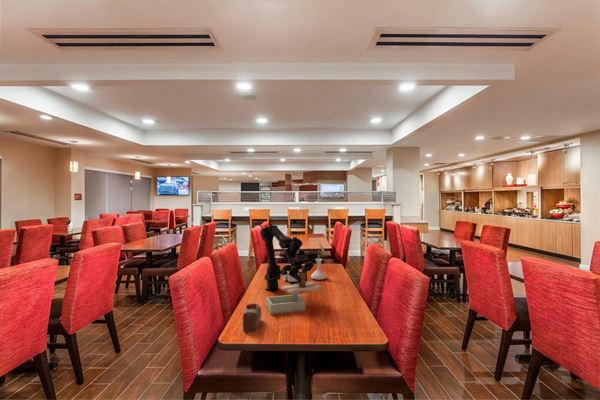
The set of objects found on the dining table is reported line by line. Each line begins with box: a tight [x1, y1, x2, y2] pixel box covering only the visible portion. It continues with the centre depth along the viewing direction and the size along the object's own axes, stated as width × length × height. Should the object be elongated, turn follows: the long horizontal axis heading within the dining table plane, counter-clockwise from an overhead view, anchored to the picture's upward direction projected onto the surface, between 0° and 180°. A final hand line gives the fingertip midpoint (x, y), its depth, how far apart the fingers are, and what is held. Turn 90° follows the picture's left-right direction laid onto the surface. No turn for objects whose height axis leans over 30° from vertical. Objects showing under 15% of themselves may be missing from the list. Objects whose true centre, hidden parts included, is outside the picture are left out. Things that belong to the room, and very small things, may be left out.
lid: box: [280, 271, 324, 295], centre depth 165 cm, size 13×19×9 cm
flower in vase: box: [310, 242, 328, 281], centre depth 219 cm, size 13×11×25 cm
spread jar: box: [283, 269, 301, 284], centre depth 211 cm, size 12×11×12 cm
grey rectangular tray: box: [265, 294, 306, 316], centre depth 161 cm, size 12×18×5 cm, turn 107°
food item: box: [241, 302, 262, 332], centre depth 141 cm, size 14×8×10 cm, turn 4°
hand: (303, 281), depth 164 cm, fingers closed on lid, 4 cm apart
